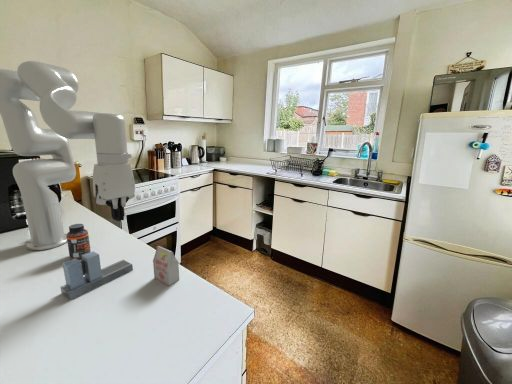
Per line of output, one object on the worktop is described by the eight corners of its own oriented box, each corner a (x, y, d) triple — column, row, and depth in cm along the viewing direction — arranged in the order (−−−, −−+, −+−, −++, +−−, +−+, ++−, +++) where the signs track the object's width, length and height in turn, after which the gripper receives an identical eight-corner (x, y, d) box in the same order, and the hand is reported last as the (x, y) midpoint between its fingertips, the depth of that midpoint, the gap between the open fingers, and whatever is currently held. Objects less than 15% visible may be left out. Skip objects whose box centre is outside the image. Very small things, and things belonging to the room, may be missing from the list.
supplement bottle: (80, 261, 79) (75, 230, 76) (65, 259, 80) (59, 228, 78) (95, 253, 85) (91, 223, 82) (81, 250, 86) (76, 221, 83)
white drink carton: (164, 272, 75) (162, 243, 73) (179, 279, 72) (177, 249, 69) (154, 278, 72) (152, 248, 70) (169, 286, 69) (167, 254, 66)
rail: (61, 293, 64) (56, 263, 62) (123, 265, 78) (121, 239, 76) (70, 300, 61) (64, 269, 59) (132, 270, 76) (130, 244, 73)
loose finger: (82, 278, 67) (79, 256, 65) (96, 272, 70) (93, 251, 68) (88, 282, 65) (84, 259, 64) (102, 276, 68) (98, 254, 67)
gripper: (130, 156, 76) (134, 210, 80) (76, 159, 63) (84, 223, 68) (145, 158, 72) (148, 215, 76) (90, 162, 59) (98, 230, 64)
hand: (118, 219), depth 72 cm, fingers closed
